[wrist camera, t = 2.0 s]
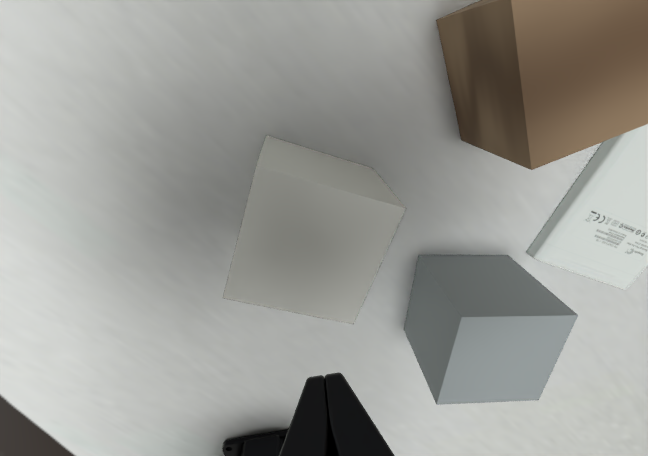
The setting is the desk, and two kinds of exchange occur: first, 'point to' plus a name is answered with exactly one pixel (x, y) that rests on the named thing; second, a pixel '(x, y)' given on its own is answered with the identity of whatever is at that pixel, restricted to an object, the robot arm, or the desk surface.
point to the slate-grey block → (484, 328)
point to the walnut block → (546, 74)
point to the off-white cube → (311, 233)
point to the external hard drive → (603, 216)
